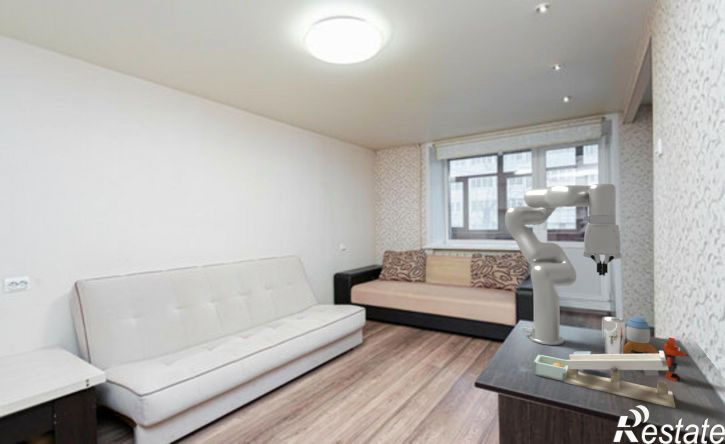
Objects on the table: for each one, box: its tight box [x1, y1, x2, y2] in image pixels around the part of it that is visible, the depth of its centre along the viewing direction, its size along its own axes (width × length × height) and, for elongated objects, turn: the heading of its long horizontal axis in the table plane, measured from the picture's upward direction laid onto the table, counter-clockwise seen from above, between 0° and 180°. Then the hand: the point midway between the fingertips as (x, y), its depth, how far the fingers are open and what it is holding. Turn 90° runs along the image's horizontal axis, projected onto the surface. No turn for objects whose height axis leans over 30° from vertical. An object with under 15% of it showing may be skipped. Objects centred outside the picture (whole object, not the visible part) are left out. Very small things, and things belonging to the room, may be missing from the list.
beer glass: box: [601, 316, 627, 354], centre depth 125 cm, size 7×7×15 cm
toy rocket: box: [623, 316, 659, 354], centre depth 129 cm, size 10×11×15 cm
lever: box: [566, 350, 669, 377], centre depth 109 cm, size 24×14×5 cm, turn 54°
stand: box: [562, 367, 676, 409], centre depth 106 cm, size 26×10×8 cm, turn 53°
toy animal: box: [663, 336, 689, 382], centre depth 111 cm, size 8×6×12 cm
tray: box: [533, 354, 569, 382], centre depth 116 cm, size 9×8×4 cm
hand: (602, 274), depth 121 cm, fingers closed
